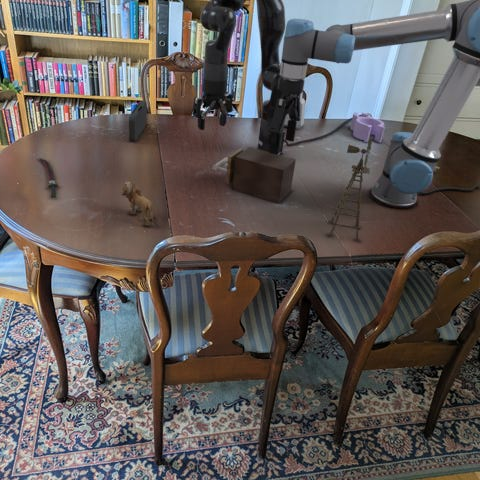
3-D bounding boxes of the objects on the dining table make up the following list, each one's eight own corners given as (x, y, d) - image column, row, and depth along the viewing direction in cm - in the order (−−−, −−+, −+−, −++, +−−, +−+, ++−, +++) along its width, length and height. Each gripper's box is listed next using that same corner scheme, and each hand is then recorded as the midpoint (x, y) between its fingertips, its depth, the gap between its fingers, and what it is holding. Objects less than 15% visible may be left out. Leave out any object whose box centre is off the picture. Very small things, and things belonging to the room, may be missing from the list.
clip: (343, 126, 223) (346, 112, 219) (367, 127, 225) (371, 113, 221) (360, 142, 206) (364, 127, 202) (386, 142, 209) (390, 127, 205)
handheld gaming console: (140, 122, 202) (140, 99, 196) (147, 123, 202) (146, 100, 196) (128, 141, 182) (127, 116, 177) (135, 142, 182) (134, 117, 177)
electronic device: (303, 125, 218) (315, 58, 202) (300, 130, 212) (311, 61, 196) (278, 120, 221) (287, 54, 205) (273, 125, 215) (283, 56, 199)
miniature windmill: (357, 241, 135) (384, 143, 119) (328, 236, 136) (351, 138, 120) (357, 226, 143) (382, 132, 127) (330, 221, 144) (351, 127, 128)
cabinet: (232, 189, 157) (235, 156, 150) (246, 177, 165) (249, 146, 159) (278, 203, 151) (283, 170, 145) (290, 191, 159) (295, 159, 153)
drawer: (211, 179, 159) (212, 152, 154) (224, 169, 167) (226, 143, 162) (267, 196, 152) (271, 168, 147) (278, 185, 160) (282, 159, 155)
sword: (61, 197, 141) (61, 193, 140) (50, 198, 139) (50, 194, 139) (49, 160, 164) (48, 156, 163) (39, 160, 163) (39, 157, 162)
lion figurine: (118, 210, 138) (116, 182, 133) (132, 204, 141) (131, 177, 137) (151, 229, 130) (150, 201, 126) (165, 223, 134) (165, 195, 129)
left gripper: (225, 72, 151) (221, 120, 160) (189, 75, 143) (187, 127, 151) (240, 77, 146) (235, 127, 155) (203, 82, 138) (201, 134, 147)
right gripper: (294, 68, 147) (285, 133, 158) (263, 83, 127) (254, 156, 139) (317, 72, 144) (306, 138, 156) (288, 89, 125) (277, 162, 136)
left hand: (211, 127), depth 153 cm, fingers open, 8 cm apart
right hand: (281, 146), depth 147 cm, fingers open, 13 cm apart
